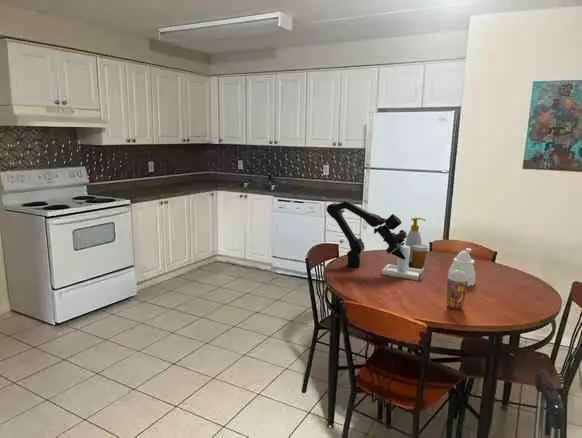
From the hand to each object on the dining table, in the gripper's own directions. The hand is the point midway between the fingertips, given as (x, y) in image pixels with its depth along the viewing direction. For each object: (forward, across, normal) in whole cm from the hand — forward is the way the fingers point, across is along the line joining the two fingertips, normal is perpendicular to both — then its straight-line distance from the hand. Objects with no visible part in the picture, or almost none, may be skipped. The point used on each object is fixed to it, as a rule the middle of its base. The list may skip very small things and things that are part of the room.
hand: (406, 257), depth 227 cm
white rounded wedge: (+4, 0, +6) cm, 7 cm away
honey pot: (+27, +4, -13) cm, 30 cm away
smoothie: (+27, -34, -14) cm, 46 cm away
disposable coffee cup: (+9, +20, +4) cm, 22 cm away
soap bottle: (+6, +28, +8) cm, 30 cm away
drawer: (+6, 0, +7) cm, 10 cm away
